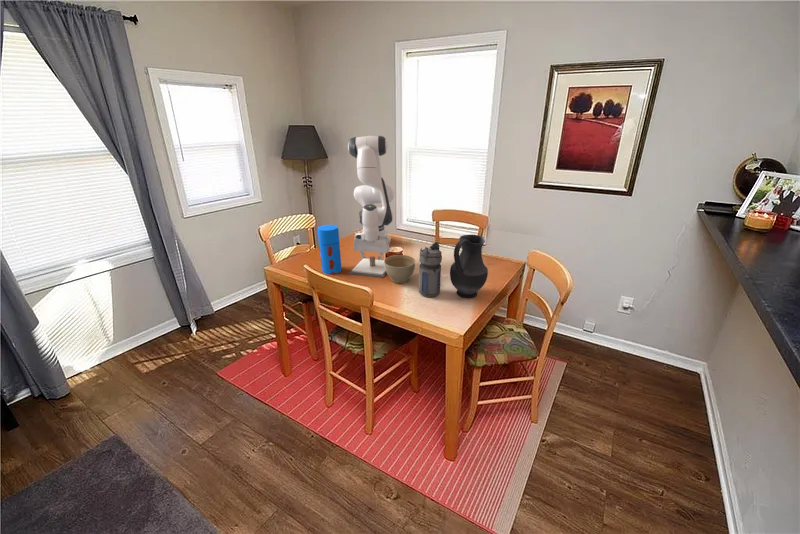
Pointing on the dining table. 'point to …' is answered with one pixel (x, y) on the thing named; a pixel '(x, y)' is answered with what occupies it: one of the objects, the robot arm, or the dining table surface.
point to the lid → (370, 266)
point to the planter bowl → (399, 267)
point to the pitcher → (468, 266)
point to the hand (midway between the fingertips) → (371, 258)
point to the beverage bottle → (430, 271)
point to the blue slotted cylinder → (329, 248)
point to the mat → (367, 273)
